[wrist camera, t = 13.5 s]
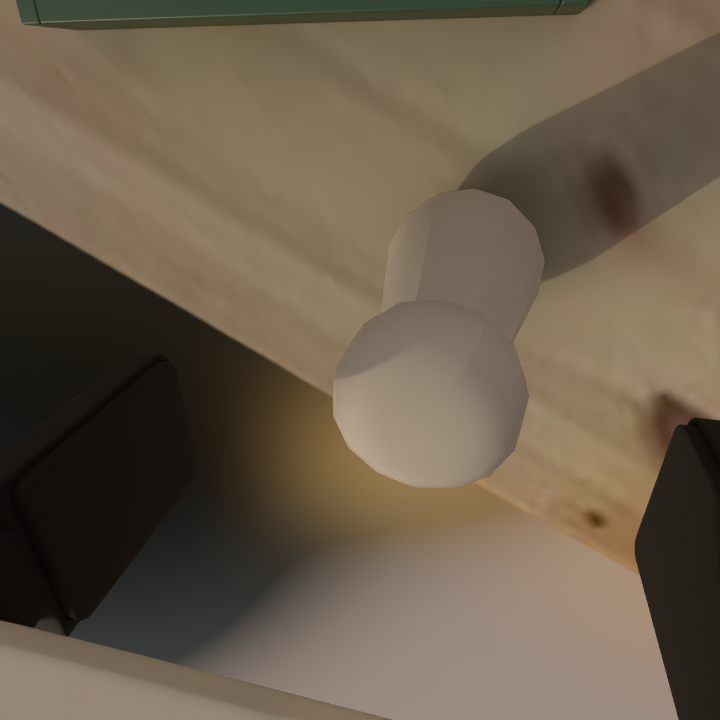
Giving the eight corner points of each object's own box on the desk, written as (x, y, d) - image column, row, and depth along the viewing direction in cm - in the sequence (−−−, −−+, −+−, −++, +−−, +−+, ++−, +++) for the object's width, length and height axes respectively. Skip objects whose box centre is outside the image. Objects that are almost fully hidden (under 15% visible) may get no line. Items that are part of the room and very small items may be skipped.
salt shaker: (555, 293, 22) (599, 522, 11) (426, 328, 24) (351, 546, 13) (517, 154, 19) (521, 256, 8) (380, 207, 22) (242, 343, 11)
